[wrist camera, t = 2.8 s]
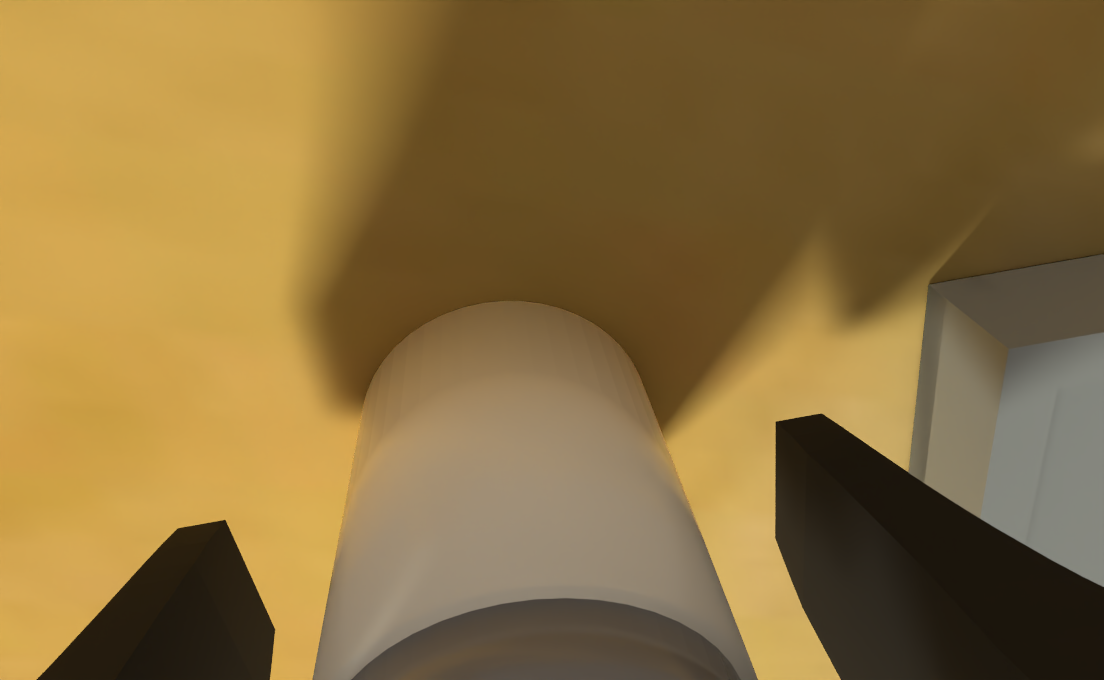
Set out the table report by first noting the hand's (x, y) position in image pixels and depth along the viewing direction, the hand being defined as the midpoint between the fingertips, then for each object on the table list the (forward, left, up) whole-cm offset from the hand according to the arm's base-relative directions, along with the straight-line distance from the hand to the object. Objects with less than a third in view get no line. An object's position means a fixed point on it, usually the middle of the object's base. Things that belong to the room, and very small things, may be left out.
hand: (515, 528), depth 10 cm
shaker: (0, 0, -2) cm, 2 cm away
